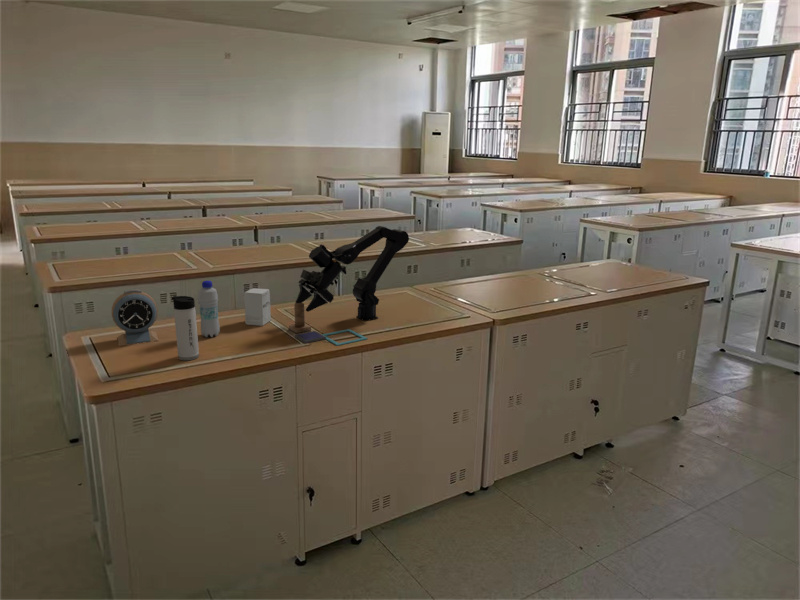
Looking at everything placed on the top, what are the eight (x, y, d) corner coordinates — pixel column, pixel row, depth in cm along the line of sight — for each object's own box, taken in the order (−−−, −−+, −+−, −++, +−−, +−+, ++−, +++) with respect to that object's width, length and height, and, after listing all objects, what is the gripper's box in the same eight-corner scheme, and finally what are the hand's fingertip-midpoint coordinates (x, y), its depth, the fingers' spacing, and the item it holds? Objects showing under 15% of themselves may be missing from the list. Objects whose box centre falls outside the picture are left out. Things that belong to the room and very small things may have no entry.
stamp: (303, 326, 213) (302, 300, 210) (311, 331, 208) (310, 303, 206) (289, 329, 210) (288, 302, 207) (296, 333, 205) (295, 306, 202)
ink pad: (315, 333, 206) (315, 330, 206) (325, 339, 200) (325, 336, 200) (295, 337, 201) (294, 334, 201) (305, 343, 195) (305, 340, 195)
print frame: (349, 329, 210) (349, 328, 210) (367, 339, 201) (367, 338, 201) (319, 336, 203) (319, 334, 203) (337, 345, 193) (337, 344, 193)
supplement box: (263, 326, 213) (261, 293, 209) (245, 324, 214) (243, 292, 211) (271, 320, 220) (270, 288, 216) (253, 319, 221) (252, 287, 218)
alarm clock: (115, 346, 189) (109, 295, 184) (114, 337, 197) (108, 288, 193) (161, 340, 196) (156, 290, 191) (158, 332, 204) (154, 284, 199)
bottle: (224, 333, 203) (220, 279, 198) (212, 339, 197) (208, 283, 192) (208, 331, 206) (204, 277, 200) (196, 337, 199) (192, 281, 194)
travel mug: (180, 353, 184) (175, 294, 178) (201, 353, 184) (196, 294, 179) (174, 361, 178) (168, 299, 172) (196, 360, 178) (191, 299, 173)
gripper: (302, 257, 213) (275, 289, 210) (325, 266, 198) (297, 300, 195) (321, 275, 220) (296, 306, 216) (345, 285, 205) (318, 319, 202)
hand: (301, 307), depth 207 cm, fingers open, 9 cm apart
